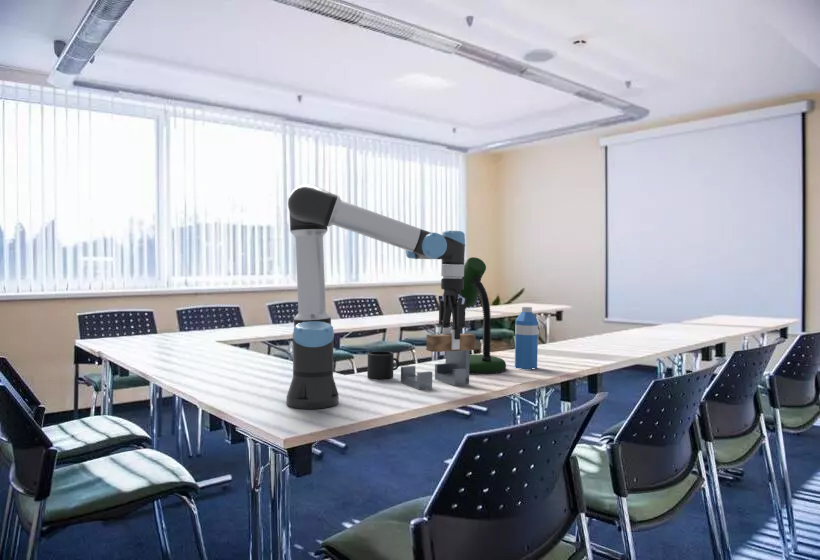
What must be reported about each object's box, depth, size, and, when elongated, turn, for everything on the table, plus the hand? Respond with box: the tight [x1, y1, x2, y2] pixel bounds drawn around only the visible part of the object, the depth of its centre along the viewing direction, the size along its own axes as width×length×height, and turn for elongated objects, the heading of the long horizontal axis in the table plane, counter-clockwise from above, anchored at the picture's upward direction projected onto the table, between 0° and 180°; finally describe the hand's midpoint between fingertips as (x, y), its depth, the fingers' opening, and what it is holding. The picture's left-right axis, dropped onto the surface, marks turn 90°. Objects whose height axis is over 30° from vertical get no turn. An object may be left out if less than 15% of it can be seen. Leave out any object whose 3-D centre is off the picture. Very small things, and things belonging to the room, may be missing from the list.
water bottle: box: [514, 306, 539, 370], centre depth 228 cm, size 9×9×25 cm
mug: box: [366, 350, 400, 381], centre depth 204 cm, size 9×12×9 cm
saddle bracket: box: [400, 365, 433, 391], centre depth 191 cm, size 5×13×6 cm, turn 29°
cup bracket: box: [434, 350, 471, 387], centre depth 198 cm, size 6×13×12 cm, turn 29°
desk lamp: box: [461, 256, 507, 375], centre depth 227 cm, size 31×23×45 cm
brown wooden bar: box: [425, 332, 477, 353], centre depth 184 cm, size 16×4×5 cm, turn 115°
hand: (450, 348), depth 184 cm, fingers closed on brown wooden bar, 5 cm apart
